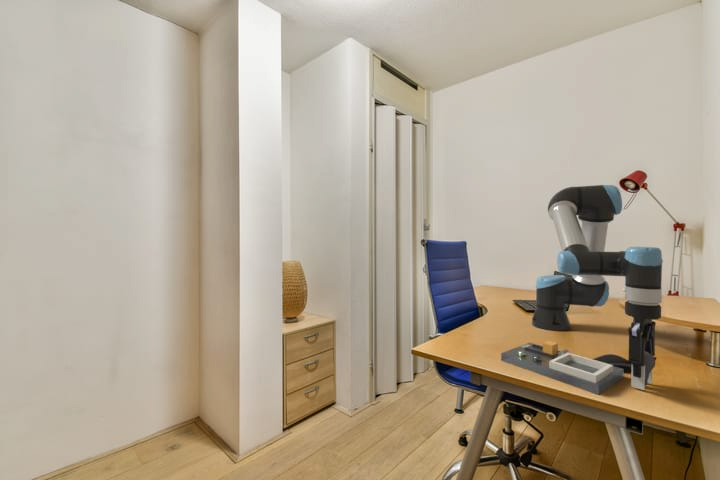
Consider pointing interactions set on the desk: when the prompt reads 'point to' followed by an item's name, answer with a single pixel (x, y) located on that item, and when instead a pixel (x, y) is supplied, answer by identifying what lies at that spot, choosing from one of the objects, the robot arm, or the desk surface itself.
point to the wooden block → (550, 347)
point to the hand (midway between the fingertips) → (641, 384)
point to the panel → (538, 362)
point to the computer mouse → (615, 361)
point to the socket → (593, 377)
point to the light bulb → (648, 365)
